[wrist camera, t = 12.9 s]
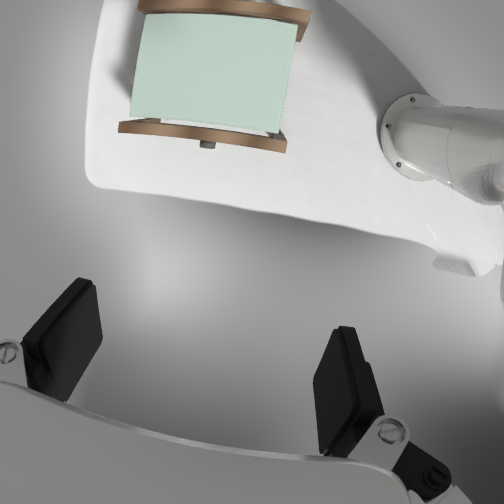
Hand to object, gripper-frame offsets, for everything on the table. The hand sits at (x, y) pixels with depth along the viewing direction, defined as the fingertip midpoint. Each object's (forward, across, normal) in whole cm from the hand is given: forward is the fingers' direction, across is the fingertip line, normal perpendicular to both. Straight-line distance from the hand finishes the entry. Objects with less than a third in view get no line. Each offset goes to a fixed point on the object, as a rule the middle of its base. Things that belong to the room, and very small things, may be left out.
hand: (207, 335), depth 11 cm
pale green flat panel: (+26, +6, -12) cm, 29 cm away
